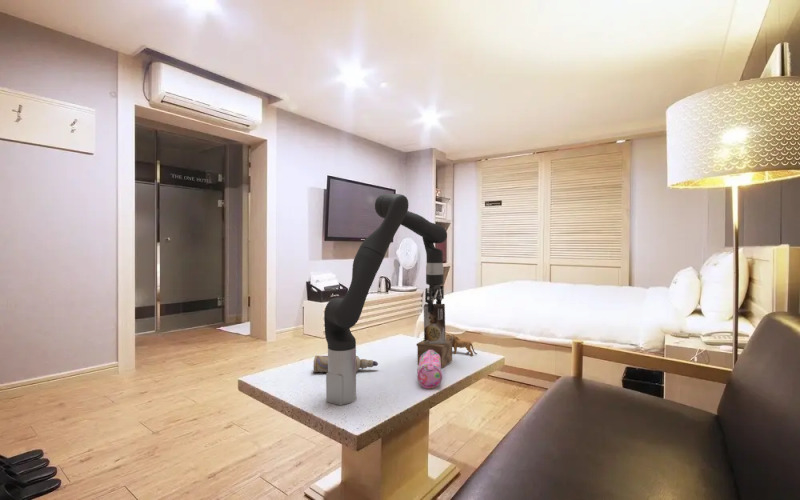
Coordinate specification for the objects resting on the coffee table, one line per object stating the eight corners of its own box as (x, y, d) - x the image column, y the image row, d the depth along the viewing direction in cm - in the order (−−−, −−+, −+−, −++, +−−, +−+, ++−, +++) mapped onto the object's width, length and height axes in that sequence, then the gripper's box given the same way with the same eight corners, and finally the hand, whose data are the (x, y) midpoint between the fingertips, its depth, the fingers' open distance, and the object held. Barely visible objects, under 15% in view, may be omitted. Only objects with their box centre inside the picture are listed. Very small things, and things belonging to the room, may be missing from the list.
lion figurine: (444, 354, 173) (444, 334, 173) (446, 351, 178) (446, 332, 178) (476, 357, 168) (476, 337, 168) (478, 353, 173) (477, 334, 173)
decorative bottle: (312, 375, 146) (311, 358, 146) (316, 369, 154) (315, 353, 154) (377, 374, 147) (377, 357, 147) (378, 368, 154) (378, 352, 154)
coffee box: (445, 340, 163) (445, 303, 162) (445, 344, 156) (445, 306, 156) (424, 339, 164) (424, 303, 164) (423, 343, 158) (423, 305, 157)
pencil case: (419, 369, 152) (419, 347, 152) (441, 370, 151) (441, 348, 151) (416, 389, 131) (415, 364, 131) (442, 390, 130) (442, 365, 130)
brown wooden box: (442, 369, 152) (441, 347, 152) (416, 364, 158) (416, 343, 158) (453, 360, 163) (453, 340, 163) (429, 357, 169) (428, 337, 169)
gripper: (436, 274, 152) (436, 314, 152) (449, 272, 164) (449, 309, 165) (419, 274, 156) (419, 312, 156) (433, 272, 168) (433, 307, 168)
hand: (434, 310), depth 160 cm, fingers open, 8 cm apart
